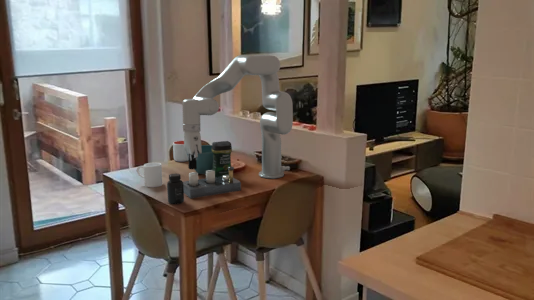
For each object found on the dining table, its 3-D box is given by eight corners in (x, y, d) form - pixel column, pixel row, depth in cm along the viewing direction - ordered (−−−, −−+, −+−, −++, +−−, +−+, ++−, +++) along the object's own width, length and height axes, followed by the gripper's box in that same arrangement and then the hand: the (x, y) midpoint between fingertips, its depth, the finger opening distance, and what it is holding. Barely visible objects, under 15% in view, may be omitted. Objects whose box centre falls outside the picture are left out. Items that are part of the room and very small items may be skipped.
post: (232, 181, 238) (232, 166, 236) (234, 182, 235) (234, 167, 234) (227, 181, 236) (227, 166, 235) (229, 183, 234) (229, 168, 233)
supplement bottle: (185, 199, 225) (184, 172, 222) (183, 204, 218) (182, 177, 216) (169, 199, 225) (167, 172, 222) (166, 204, 218) (165, 177, 215)
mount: (229, 183, 248) (229, 171, 247) (241, 190, 237) (240, 178, 236) (180, 190, 237) (180, 178, 236) (190, 198, 226) (190, 185, 225)
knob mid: (213, 180, 239) (212, 169, 238) (216, 182, 235) (216, 171, 234) (204, 181, 237) (204, 170, 236) (208, 183, 234) (207, 172, 232)
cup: (195, 159, 293) (195, 141, 290) (183, 163, 284) (183, 145, 282) (181, 157, 298) (181, 139, 295) (169, 160, 290) (169, 143, 287)
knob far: (196, 182, 235) (196, 171, 234) (199, 185, 232) (199, 173, 231) (188, 183, 233) (187, 172, 232) (191, 186, 230) (190, 175, 229)
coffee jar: (215, 182, 250) (215, 144, 246) (210, 177, 257) (209, 140, 253) (234, 179, 254) (234, 142, 250) (228, 175, 261) (227, 139, 257)
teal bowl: (180, 171, 268) (179, 148, 265) (209, 165, 279) (208, 143, 277) (200, 179, 254) (199, 154, 252) (230, 172, 266) (229, 149, 263)
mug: (140, 181, 251) (139, 161, 248) (164, 182, 249) (163, 162, 247) (134, 186, 243) (132, 166, 241) (159, 187, 241) (158, 167, 239)
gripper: (206, 129, 222) (206, 171, 226) (193, 124, 235) (194, 164, 239) (189, 131, 218) (190, 173, 222) (177, 125, 231) (178, 165, 235)
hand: (192, 168), depth 231 cm, fingers closed
